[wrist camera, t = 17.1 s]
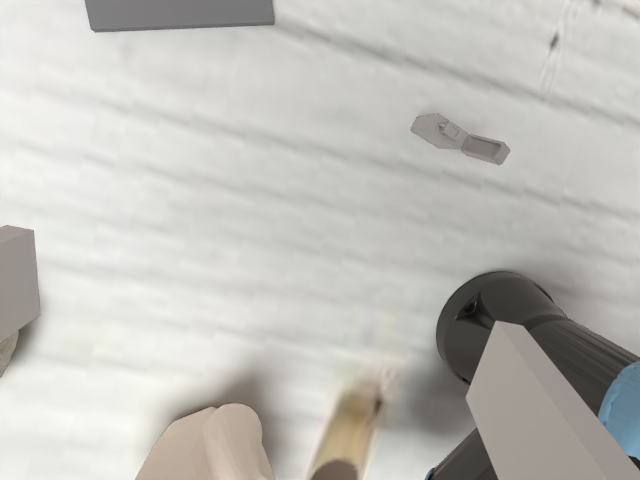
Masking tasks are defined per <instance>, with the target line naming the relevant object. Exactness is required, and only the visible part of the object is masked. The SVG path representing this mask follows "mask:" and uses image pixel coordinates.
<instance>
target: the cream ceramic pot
mask: <svg viewBox="0 0 640 480" xmlns="http://www.w3.org/2000/svg"><path fill="white" fill-rule="evenodd" d="M262 437H263V432H262V425H261V422H260V420H259V418H258V416H257V414H256V413H255V412H254V411H253V410H252V409H251V408H250V407H248V406H246V405H244V404H238V403H232V404H226V405H222V406H221V407H219V408H215V407H209V408H206V409H204V410H201V411H199V412H196V413H193V414H191V415H188V416H186V417H183V418H181V419H178V420H176V421H173V422H172V423H171V424H170V425H169V426H168V428H167V429H166V430H165V431H164V433H163V434H162V435H161V437H160V438H159V439H158V441H157V442H156V443H155V445H154V446H153V448H152V450H151V452H150V453H149V455H148V457H147V459H146V461H145V462H144V464H143V466H142V468H141V469H140V471H139V473H138V475H137V477H136V478H135V480H275V478H274V473H273V470H272V468H271V465H270V463H269V460H268V457H267V455H266V452H265V450H264V448H263V445H262Z"/></svg>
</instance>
